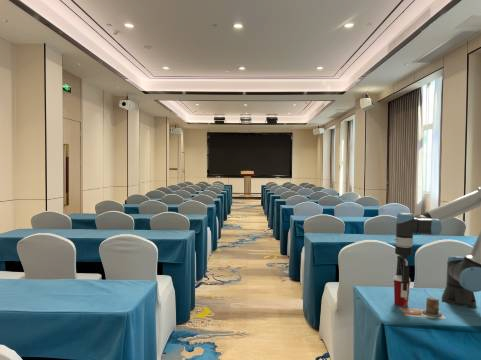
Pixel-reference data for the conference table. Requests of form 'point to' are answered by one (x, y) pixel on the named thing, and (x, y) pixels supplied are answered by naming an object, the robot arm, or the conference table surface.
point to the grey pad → (432, 314)
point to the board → (422, 314)
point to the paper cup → (397, 292)
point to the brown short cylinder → (432, 306)
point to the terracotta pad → (411, 311)
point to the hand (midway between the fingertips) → (401, 294)
